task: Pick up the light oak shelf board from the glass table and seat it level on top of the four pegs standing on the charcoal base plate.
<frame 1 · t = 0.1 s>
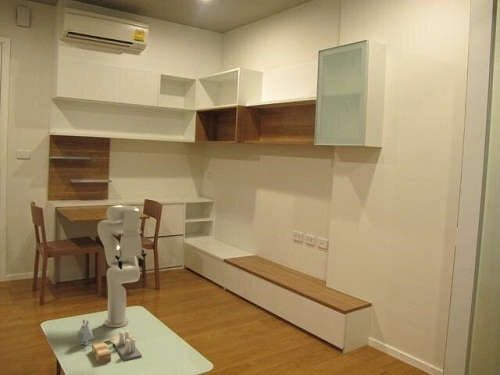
hand: (130, 267, 216), 37 cm above the table, tool pointing down, fingers open, 9 cm apart
toy figure: (85, 344, 212), on the table
peg stand: (126, 350, 207), on the table
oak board: (101, 356, 200), on the table
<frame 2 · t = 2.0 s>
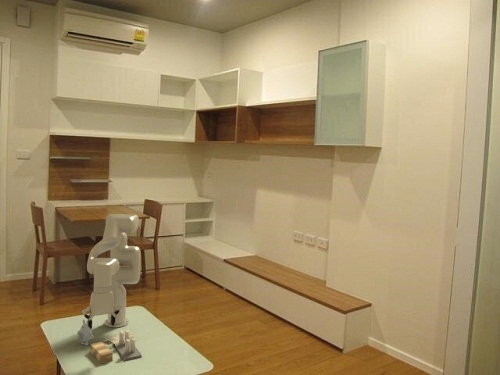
hand: (101, 326, 199), 14 cm above the table, tool pointing down, fingers open, 9 cm apart
nothing on the table moved.
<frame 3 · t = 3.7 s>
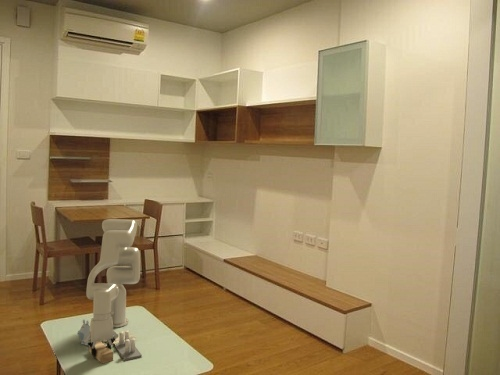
hand: (101, 353, 200), 1 cm above the table, tool pointing down, fingers closed on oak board, 5 cm apart
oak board: (101, 356, 200), on the table, touching gripper
everything else where it was.
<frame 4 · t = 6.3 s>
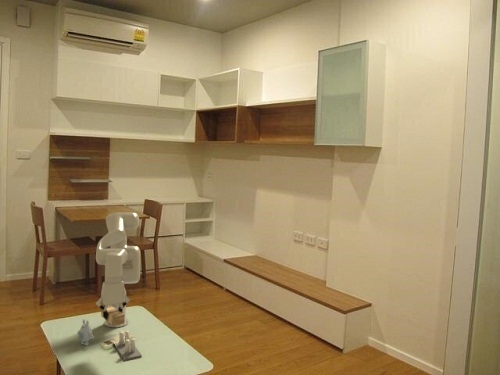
hand: (112, 317, 202), 17 cm above the table, tool pointing down, fingers closed on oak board, 5 cm apart
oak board: (112, 319, 202), point 16 cm above the table, touching gripper
everything else where it was.
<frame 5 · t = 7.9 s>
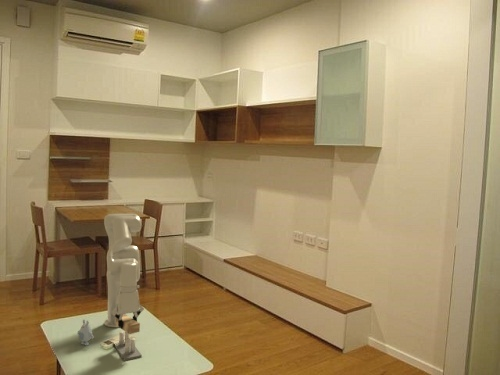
hand: (127, 326, 206), 12 cm above the table, tool pointing down, fingers closed on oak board, 5 cm apart
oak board: (127, 328, 207), point 11 cm above the table, touching gripper
everything else where it was.
when the fingers open (9 cm above the table, at t = 9.2 s): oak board drops 1 cm, resting on peg stand.
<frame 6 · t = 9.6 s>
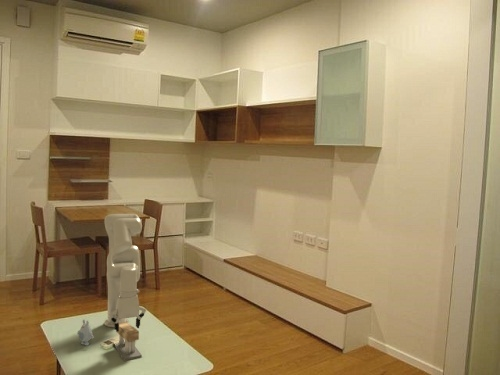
hand: (127, 329, 207), 10 cm above the table, tool pointing down, fingers open, 9 cm apart
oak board: (127, 335, 207), point 7 cm above the table, touching peg stand
everything else where it was.
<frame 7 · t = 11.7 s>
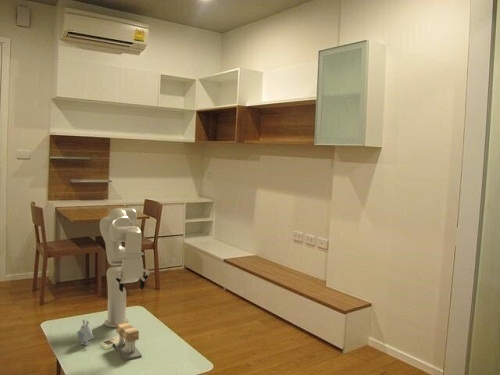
hand: (131, 289, 213), 27 cm above the table, tool pointing down, fingers open, 9 cm apart
nothing on the table moved.
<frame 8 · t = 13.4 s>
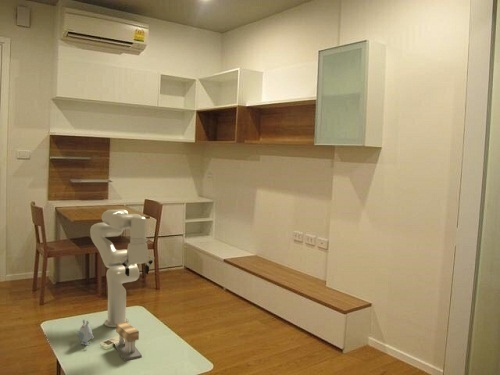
hand: (137, 274, 220), 32 cm above the table, tool pointing down, fingers open, 9 cm apart
nothing on the table moved.
at the end: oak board 0.2 cm off-centre on the peg stand, point 7.0 cm above the peg stand's base; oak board tilted 0°; the gripper is holding nothing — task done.
